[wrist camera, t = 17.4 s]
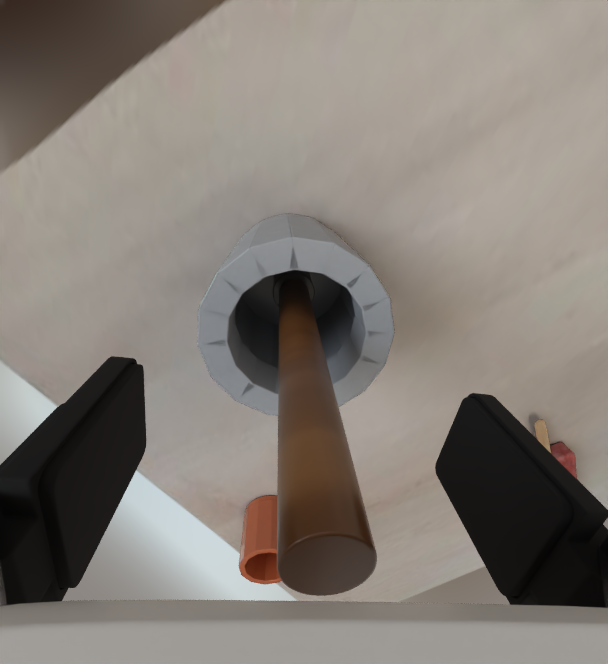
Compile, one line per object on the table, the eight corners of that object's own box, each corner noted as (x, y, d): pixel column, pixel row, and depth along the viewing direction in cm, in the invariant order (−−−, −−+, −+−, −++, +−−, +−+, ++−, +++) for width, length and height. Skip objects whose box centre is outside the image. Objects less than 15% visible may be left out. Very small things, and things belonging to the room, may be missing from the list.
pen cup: (235, 510, 34) (227, 566, 29) (273, 488, 34) (272, 541, 28) (265, 534, 36) (263, 590, 31) (302, 513, 35) (306, 568, 30)
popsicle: (570, 417, 30) (583, 513, 36) (555, 405, 31) (571, 499, 38) (521, 436, 30) (542, 528, 37) (509, 423, 32) (531, 513, 38)
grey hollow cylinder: (206, 263, 24) (153, 321, 14) (303, 186, 22) (322, 190, 12) (279, 347, 27) (279, 444, 17) (369, 286, 25) (426, 353, 15)
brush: (266, 273, 24) (222, 564, 6) (295, 251, 23) (349, 494, 5) (288, 300, 25) (310, 625, 7) (316, 280, 24) (424, 570, 6)
